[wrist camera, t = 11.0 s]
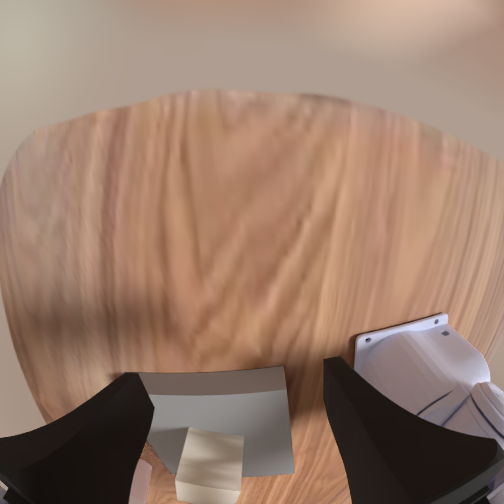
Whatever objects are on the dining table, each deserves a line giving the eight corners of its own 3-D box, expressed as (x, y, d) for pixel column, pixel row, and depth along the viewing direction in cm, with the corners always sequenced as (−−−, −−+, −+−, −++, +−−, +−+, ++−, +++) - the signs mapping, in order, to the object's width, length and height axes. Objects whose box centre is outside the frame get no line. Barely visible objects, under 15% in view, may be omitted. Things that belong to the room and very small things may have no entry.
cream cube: (244, 436, 19) (240, 491, 14) (237, 460, 21) (233, 509, 15) (189, 427, 19) (174, 480, 14) (188, 453, 20) (177, 500, 15)
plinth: (283, 365, 21) (286, 389, 18) (292, 453, 24) (294, 473, 21) (130, 372, 22) (118, 391, 19) (175, 455, 25) (170, 473, 22)
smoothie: (160, 478, 27) (139, 549, 13) (119, 463, 27) (91, 530, 13) (162, 462, 26) (138, 545, 12) (117, 445, 25) (82, 521, 12)
